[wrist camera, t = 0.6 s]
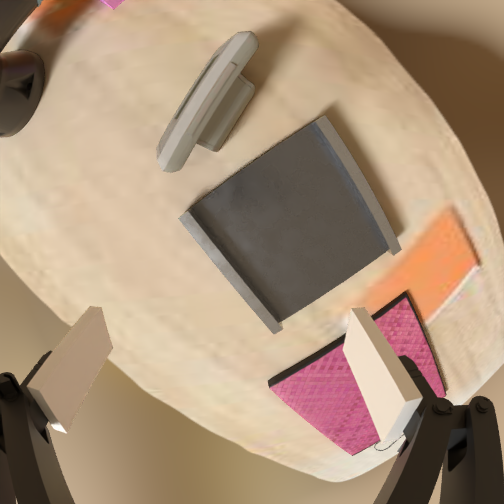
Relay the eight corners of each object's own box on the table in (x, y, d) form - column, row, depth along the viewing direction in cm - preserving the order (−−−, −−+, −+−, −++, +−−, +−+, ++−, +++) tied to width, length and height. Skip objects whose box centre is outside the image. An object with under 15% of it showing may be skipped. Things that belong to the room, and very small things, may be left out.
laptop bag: (267, 394, 42) (412, 298, 38) (265, 378, 46) (401, 288, 42) (358, 465, 52) (452, 406, 48) (354, 453, 56) (445, 396, 52)
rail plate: (183, 213, 36) (178, 218, 33) (319, 118, 32) (325, 115, 29) (272, 322, 41) (273, 334, 39) (392, 242, 38) (401, 249, 35)
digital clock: (227, 45, 29) (220, 7, 19) (281, 86, 31) (294, 60, 21) (142, 137, 33) (104, 133, 23) (193, 180, 35) (171, 190, 25)
